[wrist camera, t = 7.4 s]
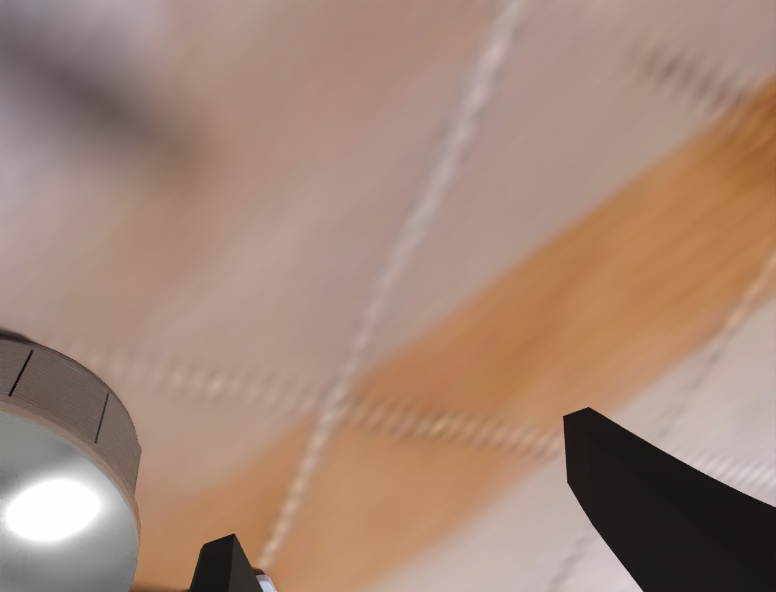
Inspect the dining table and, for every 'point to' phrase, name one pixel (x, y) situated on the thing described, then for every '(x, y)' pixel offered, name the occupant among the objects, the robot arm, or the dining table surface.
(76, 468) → the lid
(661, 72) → the dining table surface
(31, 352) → the pot
